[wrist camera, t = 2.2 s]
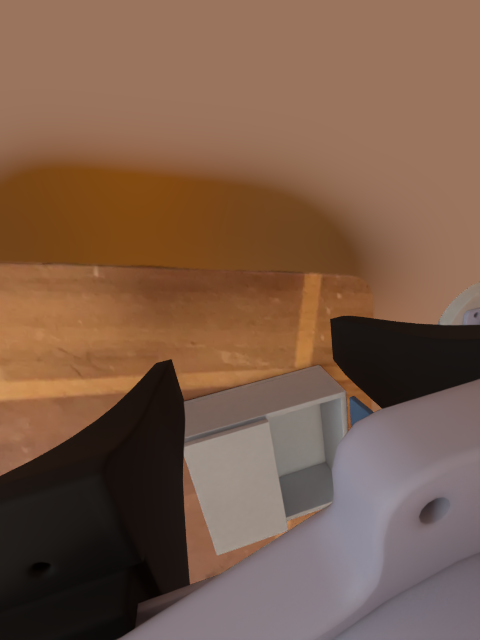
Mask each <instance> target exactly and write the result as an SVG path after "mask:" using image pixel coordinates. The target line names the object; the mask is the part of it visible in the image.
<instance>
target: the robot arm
mask: <svg viewBox="0 0 480 640" xmlns="http://www.w3.org/2000/svg"><path fill="white" fill-rule="evenodd" d="M330 321H331V336H332V350H333V359H334V361H335V362H336V363H337V365H338V366H339V367H340V369H341V370H342V371H343V372H344V373H345V375H346V376H347V377H348V378H349V379H351V380H352V381H353V382H354V383H355V384H356V385H357V386H358V387H359V388H360V389H361V390H362V391H363V392H365V393H366V394H367V395H368V396H369V397H370V398H371V399H372V400H373V401H374V402H376V403H377V404H378V405H379V406H380V407H381V408H382V409H381V410H378V411H376V412H374V413H372V414H370V415H369V416H367V417H365V418H363V419H361V420H359V421H358V422H356V423H355V424H354V425H353V426H352V427H351V429H350V430H349V431H348V432H347V433H346V435H345V436H344V437H343V438H342V440H341V441H340V442H339V444H338V446H337V449H336V454H335V458H334V463H333V467H332V477H333V489H334V496H333V502H332V503H331V504H330V505H328V506H327V507H325V508H323V509H322V510H320V511H319V512H317V513H316V514H314V515H312V516H311V517H309V518H308V519H306V520H305V521H303V522H301V523H300V524H298V525H297V526H295V527H294V528H292V529H290V530H289V531H287V532H286V533H284V534H283V535H281V536H279V537H278V538H276V539H275V540H273V541H272V542H270V543H268V544H267V545H265V546H264V547H262V548H261V549H259V550H257V551H256V552H254V553H253V554H251V555H250V556H248V557H246V558H245V559H243V560H242V561H240V562H239V563H237V564H235V565H234V566H232V567H231V568H229V569H228V570H226V571H224V572H223V573H221V574H219V575H216V576H213V577H210V578H208V579H205V580H202V581H199V582H196V583H194V584H191V585H190V581H189V569H188V556H187V543H186V529H185V513H184V495H183V458H184V440H185V408H184V399H183V396H182V392H181V389H180V386H179V383H178V379H177V376H176V373H175V369H174V366H173V363H172V359H170V360H166V361H163V362H159V363H156V364H155V365H154V366H153V367H152V368H151V369H150V370H149V371H148V372H147V374H146V375H145V376H144V377H143V378H142V379H141V380H140V381H139V382H138V383H137V384H136V386H135V387H134V388H133V389H132V390H131V391H130V392H128V393H127V394H126V395H125V396H124V397H123V398H122V399H121V400H120V401H119V402H118V403H117V404H116V405H115V406H114V407H112V408H111V409H110V410H109V411H108V412H106V413H105V414H104V415H103V416H101V417H100V418H99V419H97V420H96V421H95V422H93V423H92V424H90V425H89V426H87V427H86V428H85V429H83V430H82V431H80V432H79V433H77V434H76V435H74V436H73V437H71V438H70V439H68V440H67V441H65V442H63V443H62V444H60V445H58V446H57V447H55V448H53V449H51V450H50V451H48V452H46V453H44V454H43V455H41V456H39V457H37V458H35V459H33V460H32V461H30V462H28V463H26V464H24V465H22V466H20V467H18V468H16V469H14V470H11V471H9V472H7V473H5V474H3V475H1V476H0V640H480V307H479V308H475V309H471V310H468V311H466V312H465V314H464V318H463V325H432V324H415V323H405V322H396V321H388V320H380V319H373V318H365V317H357V316H341V317H337V318H333V319H330Z"/></svg>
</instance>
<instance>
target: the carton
mask: <svg viewBox="0 0 480 640" xmlns="http://www.w3.org/2000/svg"><path fill="white" fill-rule="evenodd" d="M184 408H185V440H184V457H185V460H186V463H187V466H188V469H189V472H190V475H191V478H192V481H193V484H194V487H195V490H196V493H197V496H198V499H199V502H200V505H201V508H202V511H203V514H204V517H205V520H206V523H207V526H208V529H209V532H210V535H211V539H212V542H213V545H214V548H215V551H216V554H217V555H221V554H223V553H226V552H229V551H232V550H235V549H238V548H240V547H243V546H246V545H249V544H252V543H255V542H257V541H260V540H263V539H266V538H269V537H272V536H274V535H277V534H280V533H283V532H286V531H288V526H287V521H289V520H292V519H294V518H297V517H300V516H303V515H306V514H309V513H312V512H315V511H317V510H320V509H323V508H325V507H327V506H328V505H330V504H331V503H332V502H333V496H334V489H333V477H332V467H333V463H334V458H335V454H336V449H337V446H338V444H339V442H340V441H341V440H342V438H343V437H344V436H345V435H346V433H347V432H348V417H347V398H346V390H344V389H343V388H342V387H341V386H340V385H339V384H338V383H337V382H336V381H335V380H334V379H333V378H332V377H331V376H330V375H329V374H328V373H327V372H326V371H325V370H324V369H323V368H322V367H321V366H320V365H316V366H312V367H309V368H305V369H301V370H298V371H294V372H291V373H287V374H283V375H280V376H276V377H272V378H269V379H265V380H261V381H258V382H254V383H250V384H247V385H243V386H239V387H236V388H232V389H228V390H225V391H221V392H217V393H214V394H210V395H206V396H203V397H199V398H195V399H192V400H188V401H184Z"/></svg>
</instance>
